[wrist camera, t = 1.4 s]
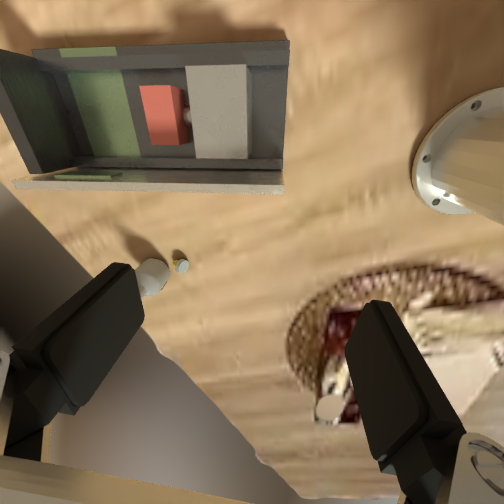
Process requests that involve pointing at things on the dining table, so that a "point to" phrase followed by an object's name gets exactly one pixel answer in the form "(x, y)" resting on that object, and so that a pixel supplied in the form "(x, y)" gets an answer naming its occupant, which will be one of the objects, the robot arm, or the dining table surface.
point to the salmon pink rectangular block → (164, 114)
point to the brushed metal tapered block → (220, 110)
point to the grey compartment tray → (136, 118)
